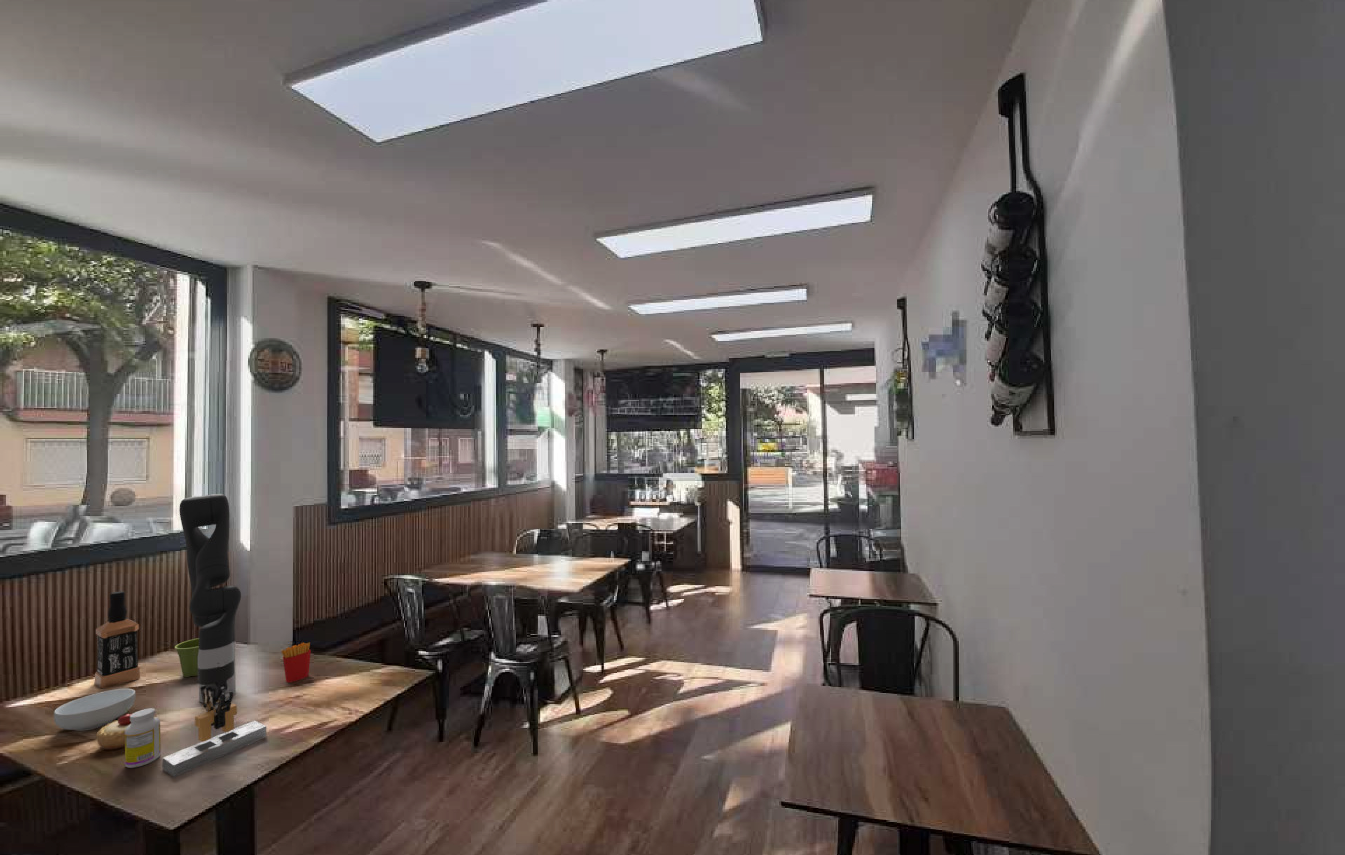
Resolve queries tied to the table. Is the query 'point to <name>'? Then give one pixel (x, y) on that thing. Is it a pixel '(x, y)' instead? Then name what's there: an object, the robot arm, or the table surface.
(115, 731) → the pastry
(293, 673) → the french fries
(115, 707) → the cereal bowl
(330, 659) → the table surface
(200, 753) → the rail
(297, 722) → the table surface
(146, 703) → the table surface
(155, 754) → the supplement bottle
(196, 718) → the ochre wooden block
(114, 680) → the whiskey bottle
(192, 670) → the plant pot
